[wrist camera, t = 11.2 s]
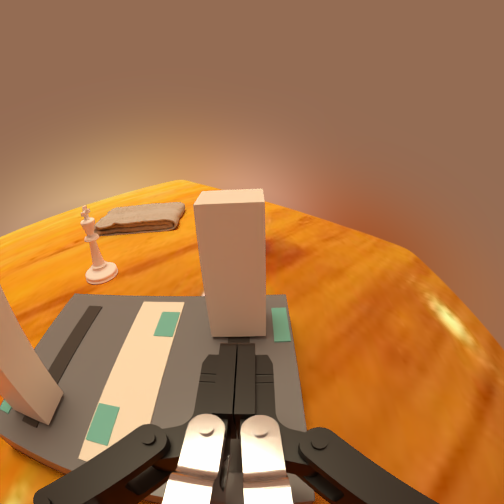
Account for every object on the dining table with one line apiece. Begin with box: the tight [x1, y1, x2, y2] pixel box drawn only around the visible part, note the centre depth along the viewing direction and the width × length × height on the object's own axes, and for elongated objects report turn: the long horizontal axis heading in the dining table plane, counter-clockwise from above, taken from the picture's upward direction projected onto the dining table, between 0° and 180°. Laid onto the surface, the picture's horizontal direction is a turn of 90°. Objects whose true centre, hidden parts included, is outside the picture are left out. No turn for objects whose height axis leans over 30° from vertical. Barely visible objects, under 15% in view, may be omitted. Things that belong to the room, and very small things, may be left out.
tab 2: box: [193, 189, 266, 337], centre depth 19 cm, size 3×4×10 cm
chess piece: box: [81, 206, 118, 284], centre depth 32 cm, size 5×5×10 cm
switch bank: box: [0, 294, 315, 504], centre depth 18 cm, size 18×22×3 cm
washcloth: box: [94, 202, 185, 236], centre depth 52 cm, size 12×18×3 cm, turn 94°
